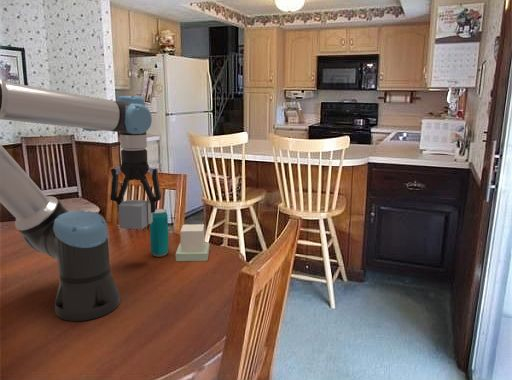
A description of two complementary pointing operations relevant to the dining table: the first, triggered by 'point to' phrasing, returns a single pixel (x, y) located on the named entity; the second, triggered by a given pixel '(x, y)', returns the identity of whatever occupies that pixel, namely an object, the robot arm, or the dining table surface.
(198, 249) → the cream brick
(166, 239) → the beverage can
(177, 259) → the base plate
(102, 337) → the dining table surface
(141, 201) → the gray cube
